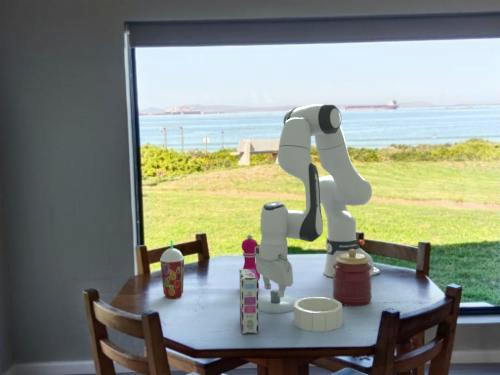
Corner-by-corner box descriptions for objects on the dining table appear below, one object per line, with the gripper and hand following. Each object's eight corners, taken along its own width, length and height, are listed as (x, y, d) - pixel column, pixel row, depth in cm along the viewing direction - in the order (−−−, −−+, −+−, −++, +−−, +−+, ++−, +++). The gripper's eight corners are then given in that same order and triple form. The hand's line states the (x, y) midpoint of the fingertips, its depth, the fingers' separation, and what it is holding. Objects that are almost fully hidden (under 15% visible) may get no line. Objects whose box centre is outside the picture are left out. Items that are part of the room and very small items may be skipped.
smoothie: (189, 293, 186) (187, 238, 184) (178, 301, 178) (176, 243, 176) (168, 291, 189) (166, 237, 187) (157, 299, 181) (155, 242, 179)
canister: (363, 309, 168) (364, 255, 166) (326, 302, 174) (326, 251, 172) (376, 297, 179) (377, 247, 177) (341, 291, 185) (341, 243, 183)
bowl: (325, 311, 166) (324, 294, 166) (351, 326, 154) (351, 308, 153) (285, 318, 161) (285, 301, 160) (309, 334, 148) (309, 316, 147)
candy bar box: (259, 334, 149) (258, 278, 147) (242, 335, 149) (241, 278, 147) (255, 319, 160) (254, 267, 158) (239, 320, 160) (238, 268, 158)
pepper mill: (258, 291, 187) (257, 236, 185) (238, 290, 189) (237, 236, 187) (261, 285, 194) (261, 232, 192) (242, 284, 196) (241, 232, 194)
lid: (285, 295, 184) (284, 282, 184) (308, 309, 170) (308, 294, 169) (243, 302, 177) (243, 288, 177) (264, 317, 163) (264, 302, 162)
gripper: (297, 257, 163) (297, 300, 165) (268, 245, 182) (269, 283, 183) (280, 259, 161) (280, 303, 162) (252, 246, 179) (252, 286, 181)
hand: (274, 292), depth 173 cm, fingers open, 8 cm apart
